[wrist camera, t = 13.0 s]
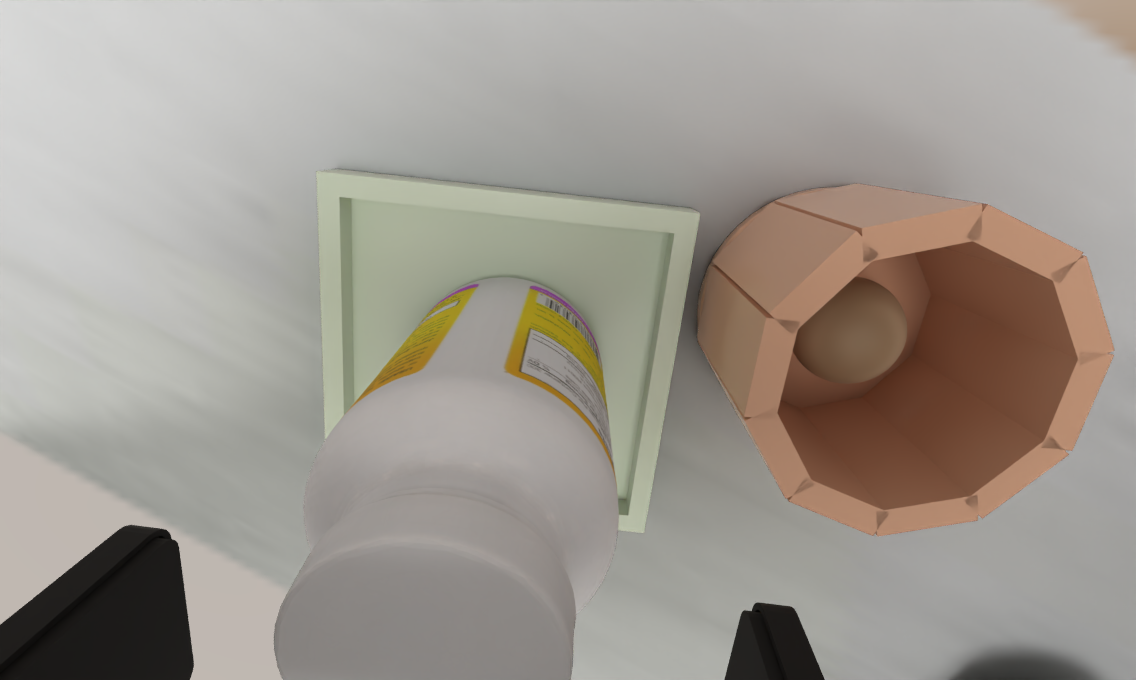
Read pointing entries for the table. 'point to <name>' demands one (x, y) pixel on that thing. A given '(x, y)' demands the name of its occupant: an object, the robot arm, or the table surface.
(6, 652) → the robot arm
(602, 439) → the supplement bottle
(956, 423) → the pot
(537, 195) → the tray
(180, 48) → the table surface
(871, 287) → the cork ball
